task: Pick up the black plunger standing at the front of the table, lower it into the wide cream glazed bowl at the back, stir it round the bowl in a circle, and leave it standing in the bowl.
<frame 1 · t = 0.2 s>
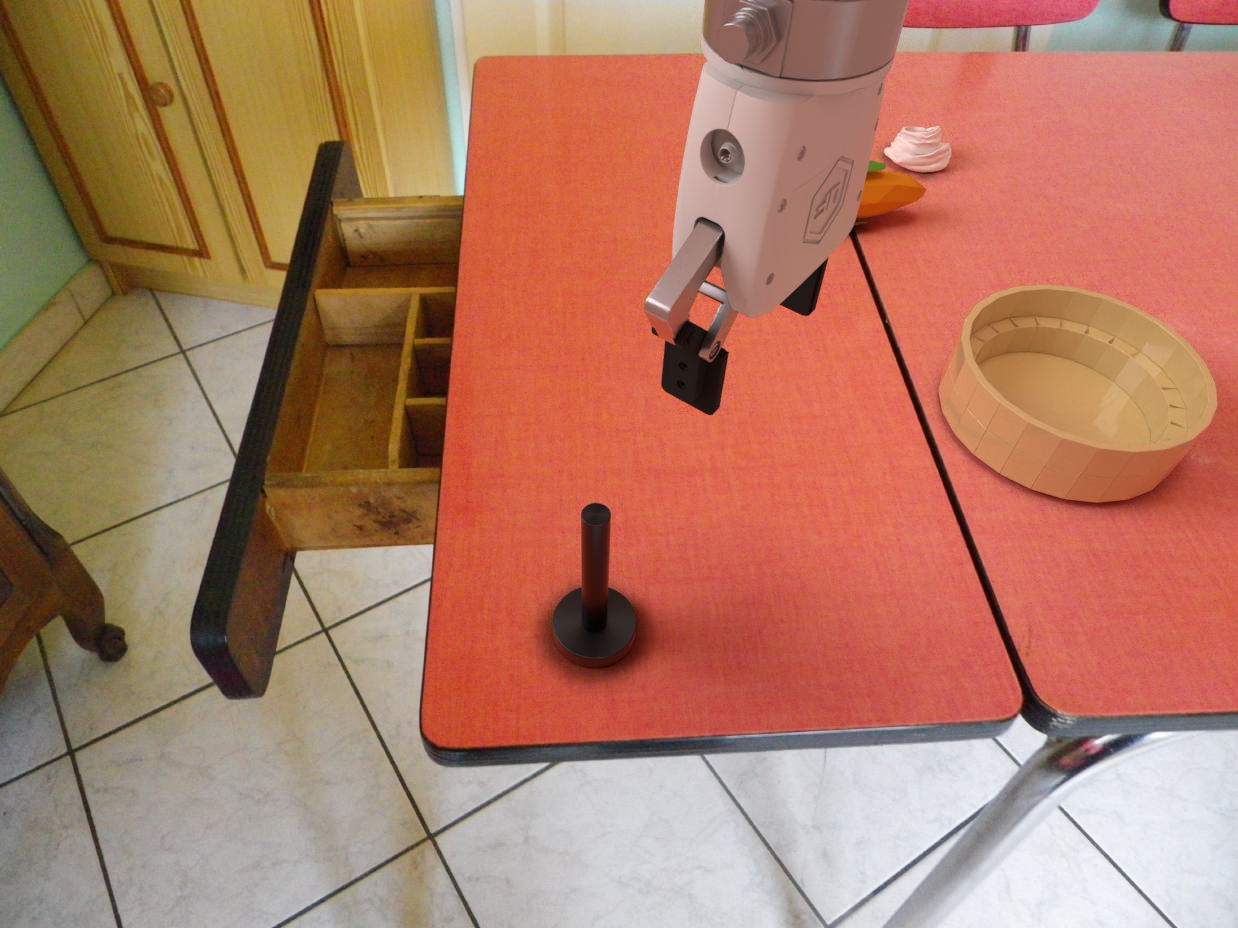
hand: (741, 349, 45), 24 cm above the table, tool pointing down, fingers open, 9 cm apart
bowl: (1051, 417, 77), on the table
corn: (830, 220, 97), on the table
whipped cream: (912, 161, 106), on the table
black plunger: (594, 630, 62), on the table
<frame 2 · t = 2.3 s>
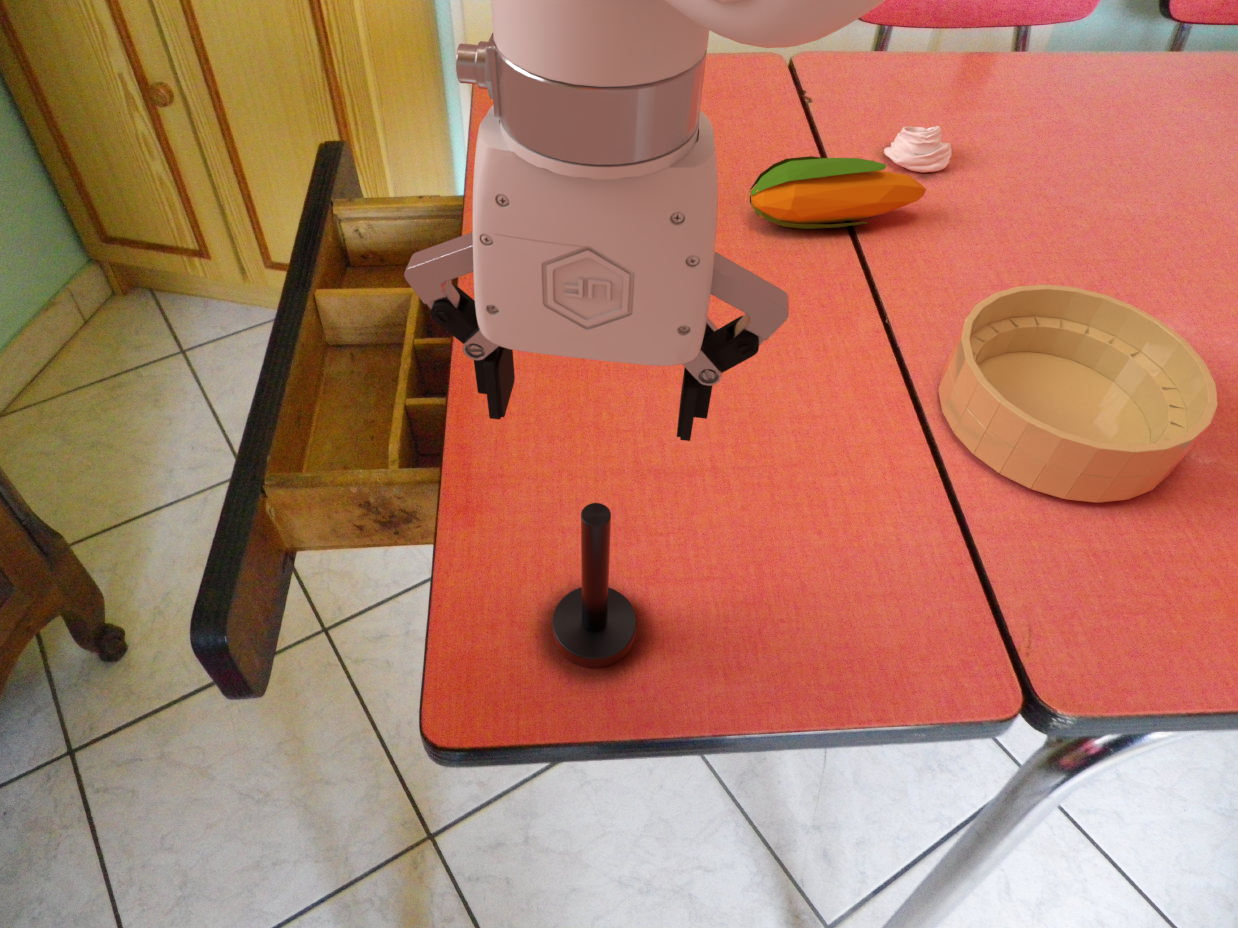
hand: (593, 410, 44), 23 cm above the table, tool pointing down, fingers open, 9 cm apart
nothing on the table moved.
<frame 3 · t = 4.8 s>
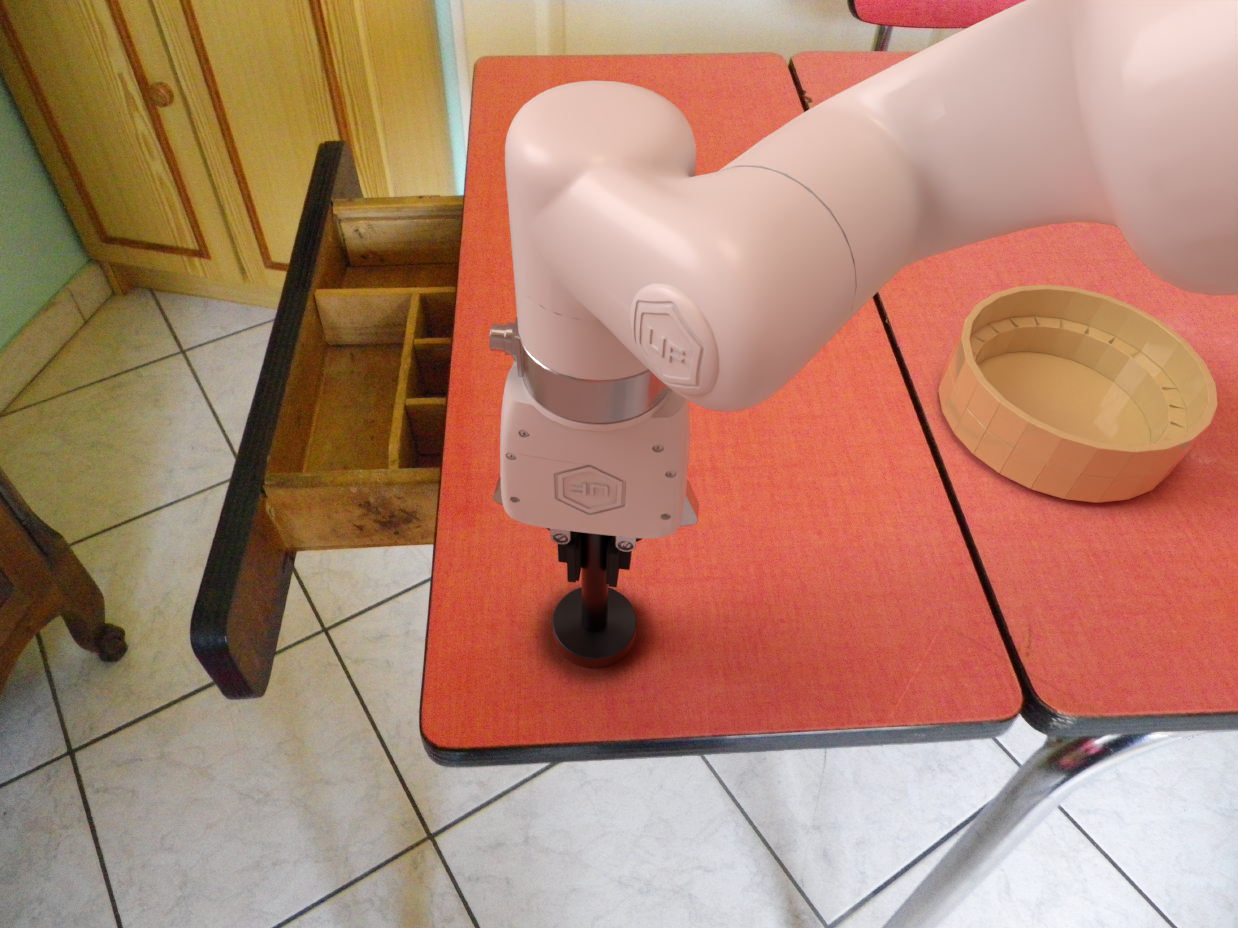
hand: (595, 564, 55), 9 cm above the table, tool pointing down, fingers closed on black plunger
black plunger: (594, 630, 62), on the table, touching gripper
everything else where it was.
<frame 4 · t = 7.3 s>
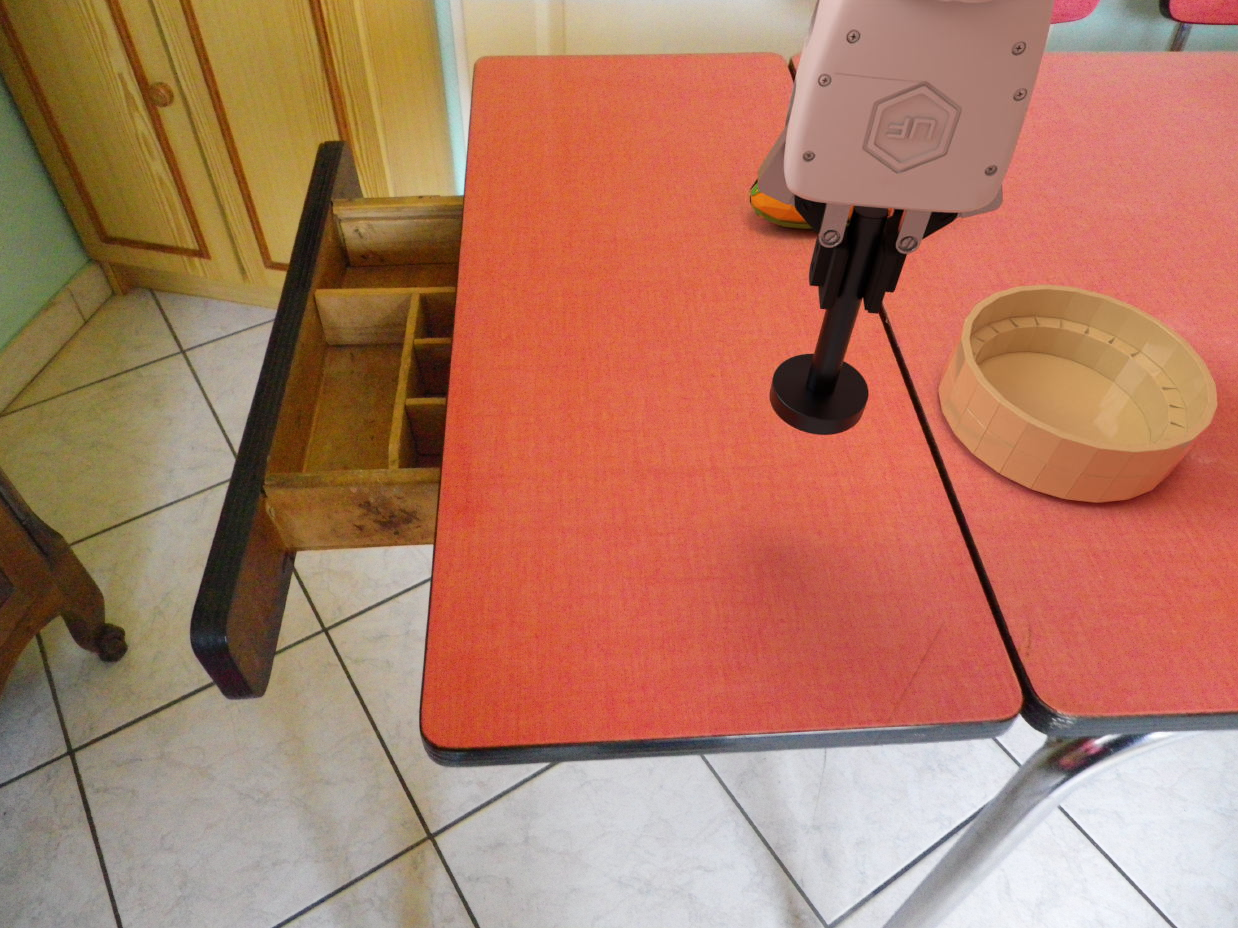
hand: (847, 294, 48), 25 cm above the table, tool pointing down, fingers closed on black plunger
black plunger: (816, 401, 54), point 16 cm above the table, touching gripper
everything else where it was.
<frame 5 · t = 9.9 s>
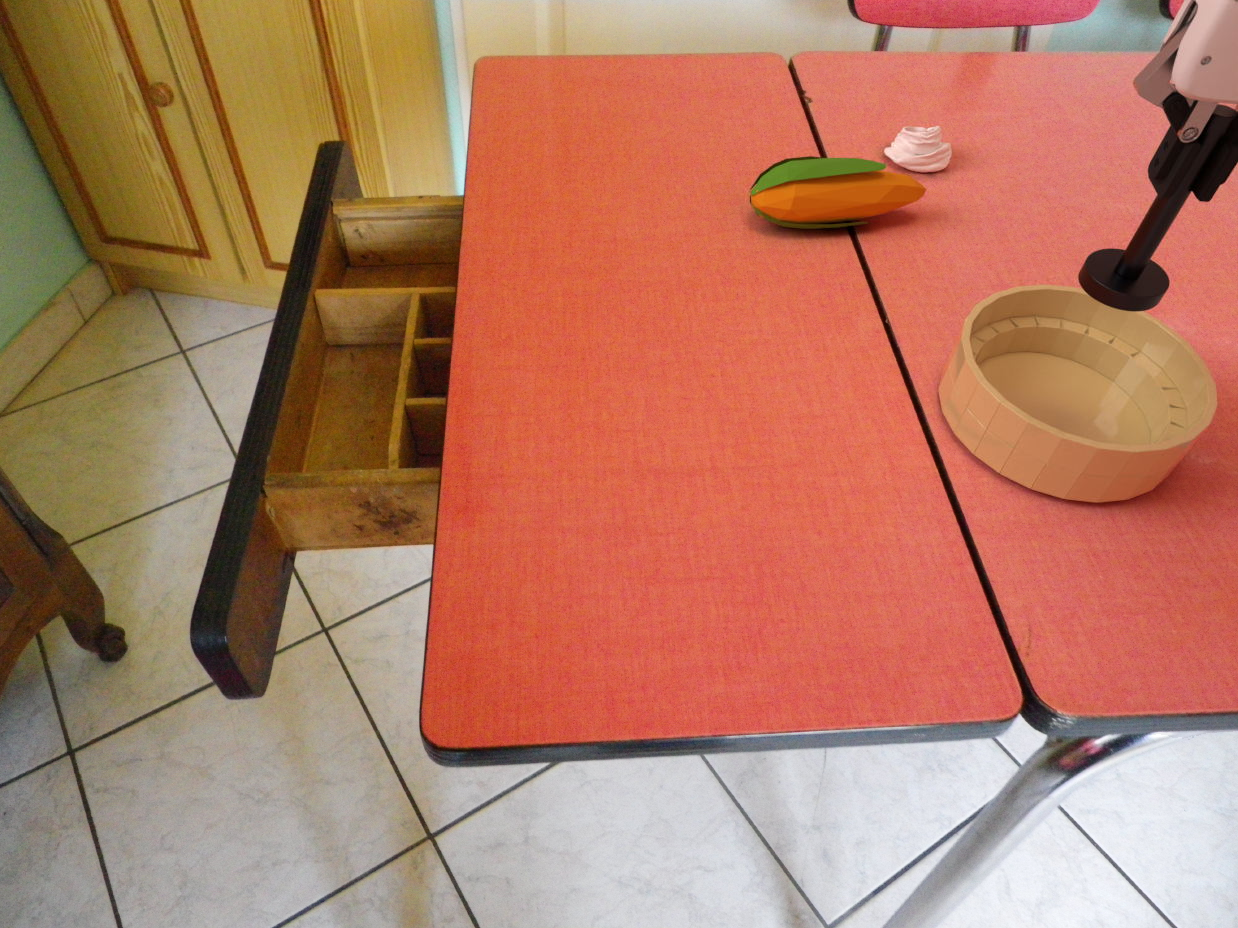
hand: (1178, 187, 58), 24 cm above the table, tool pointing down, fingers closed on black plunger
black plunger: (1118, 286, 65), point 15 cm above the table, touching gripper
everything else where it was.
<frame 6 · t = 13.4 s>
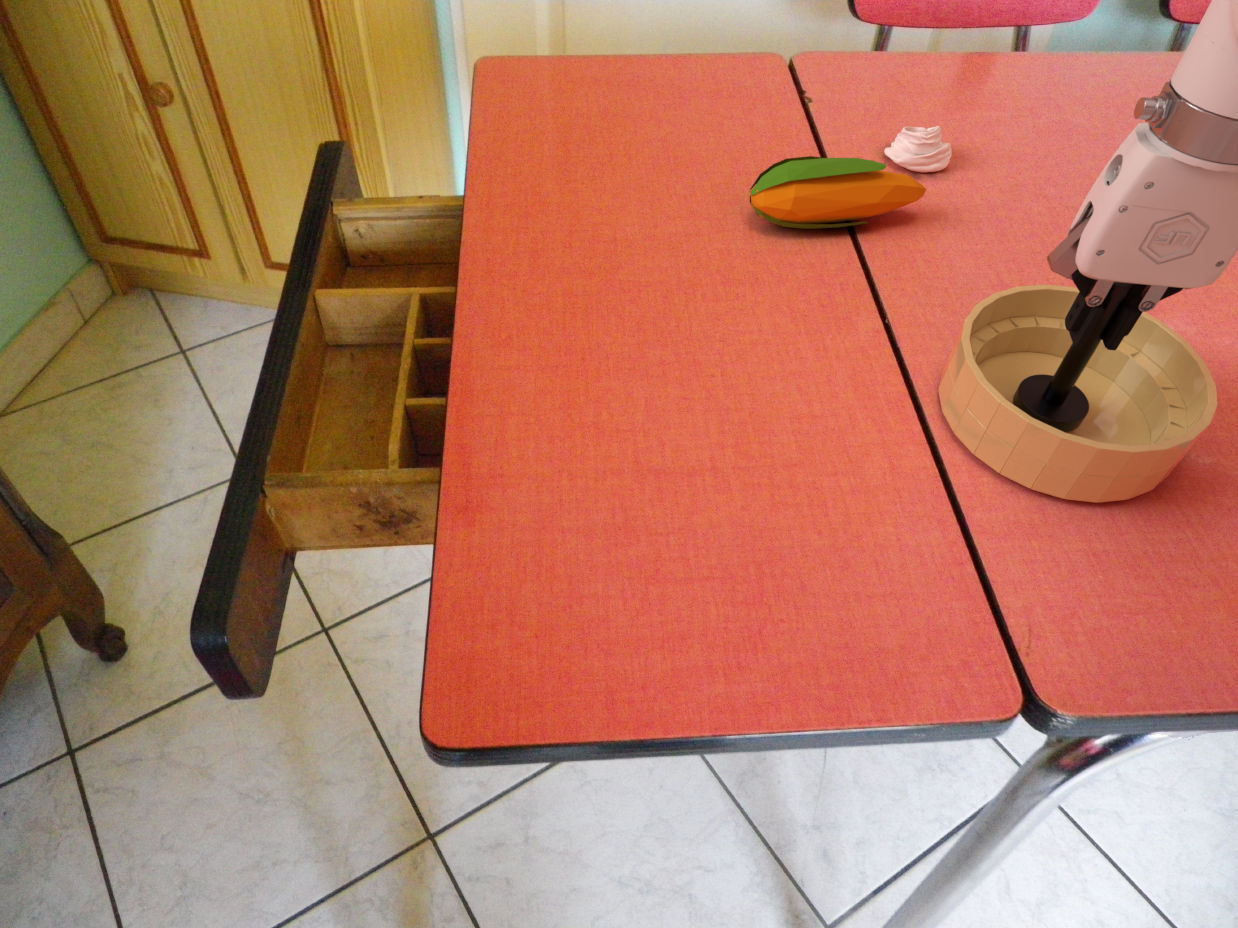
hand: (1090, 336, 69), 10 cm above the table, tool pointing down, fingers closed on black plunger
black plunger: (1047, 408, 76), point 1 cm above the table, touching gripper
everything else where it was.
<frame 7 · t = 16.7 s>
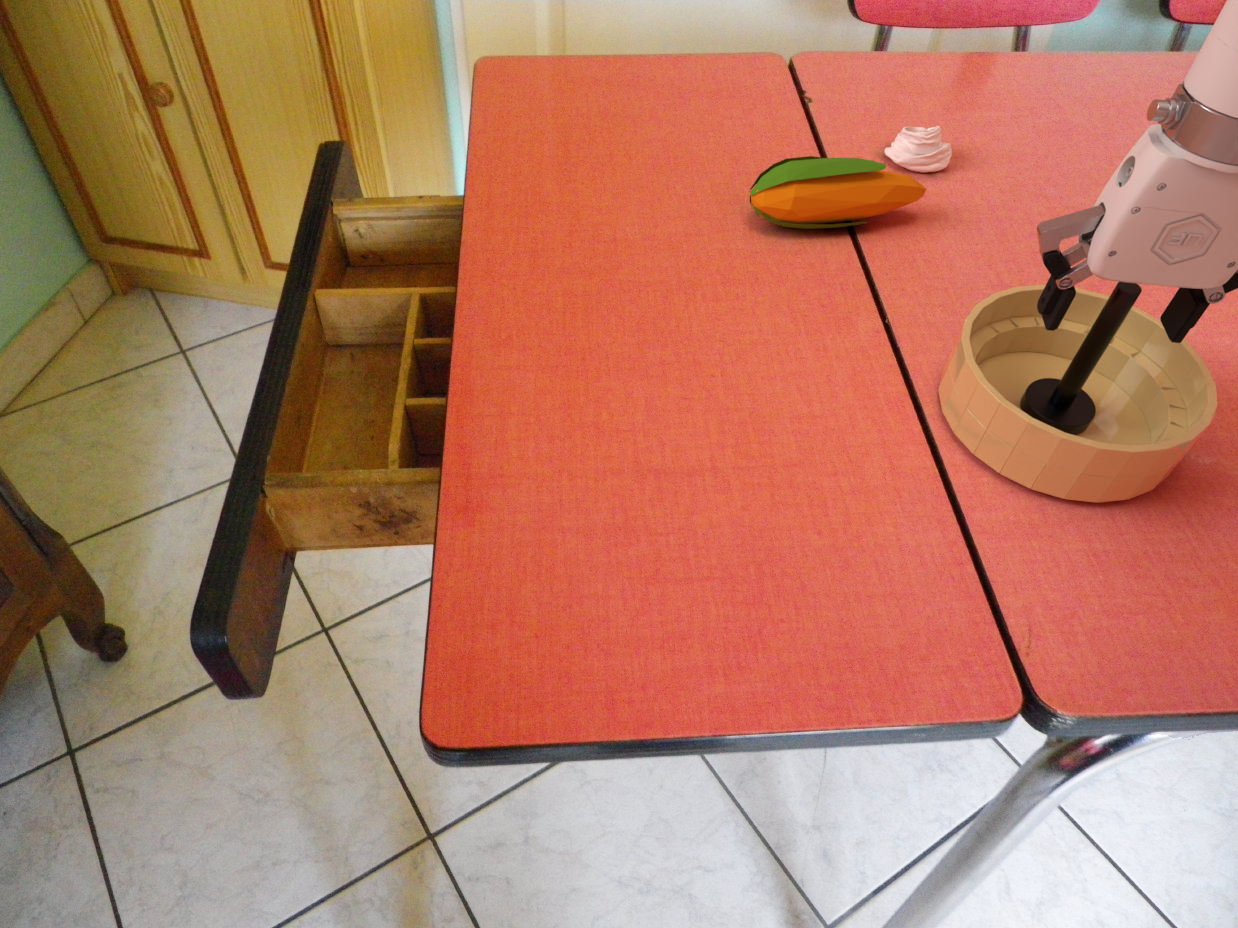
hand: (1107, 325, 69), 11 cm above the table, tool pointing down, fingers open, 9 cm apart
black plunger: (1054, 412, 77), point 1 cm above the table, touching bowl
everything else where it was.
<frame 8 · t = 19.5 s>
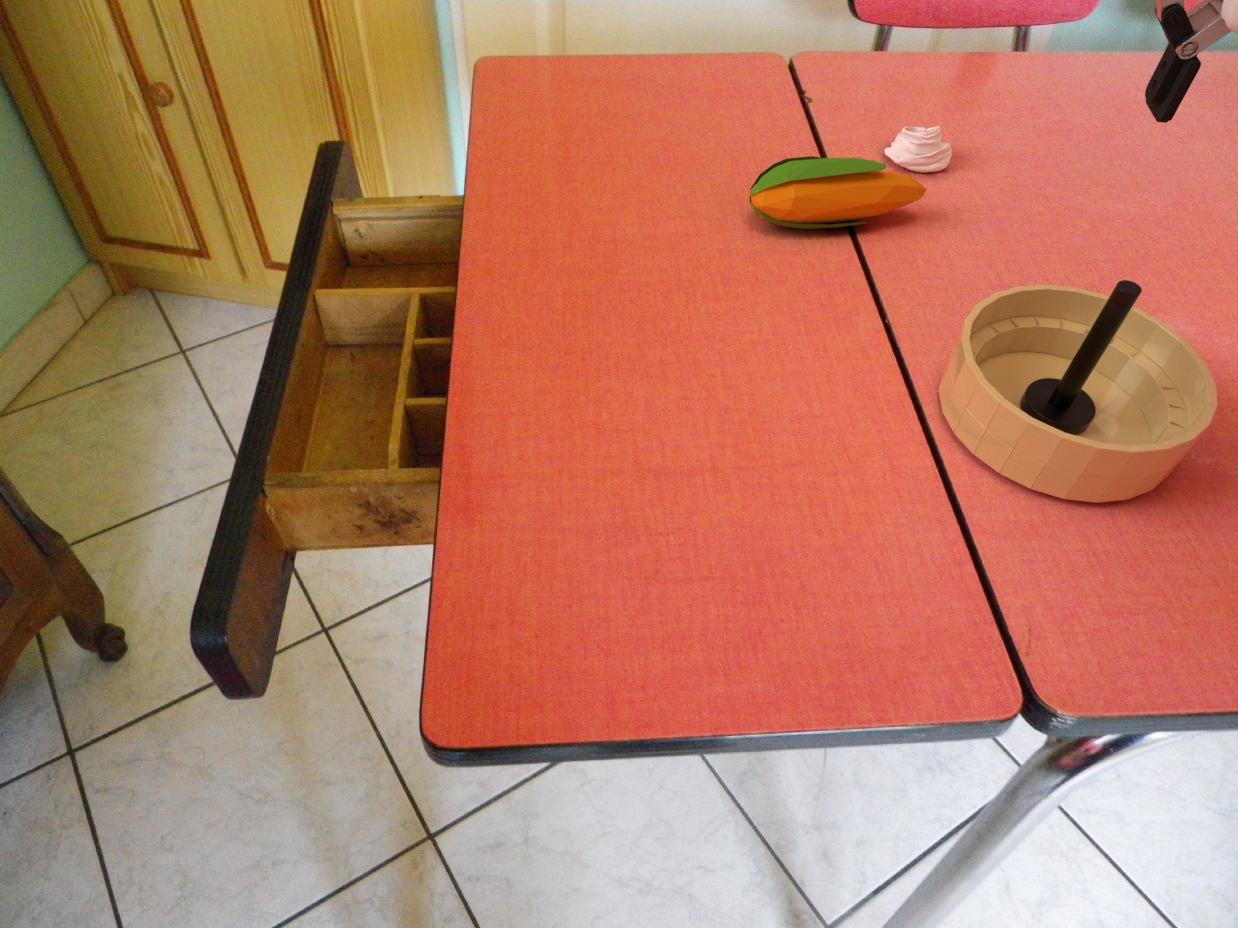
hand: (1232, 119, 55), 28 cm above the table, tool pointing down, fingers open, 9 cm apart
nothing on the table moved.
at the end: black plunger inside the target area in the bowl (0.1 cm from its centre), point 0.6 cm above the bowl's base; black plunger moved 46.8 cm from its start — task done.
